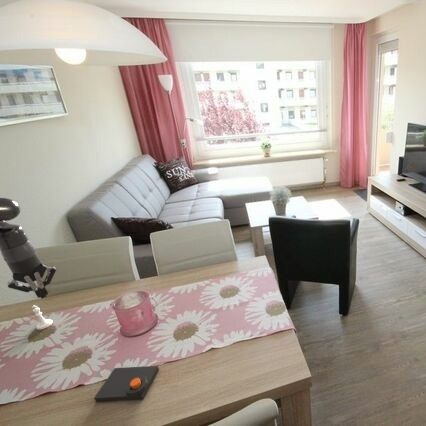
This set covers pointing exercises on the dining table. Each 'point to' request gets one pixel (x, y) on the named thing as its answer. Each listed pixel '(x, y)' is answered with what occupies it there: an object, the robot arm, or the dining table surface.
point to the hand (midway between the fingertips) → (43, 296)
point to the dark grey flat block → (126, 384)
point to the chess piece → (41, 319)
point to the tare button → (135, 383)
